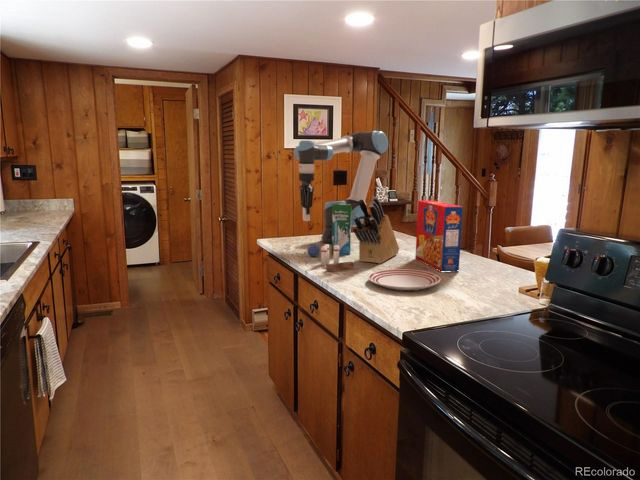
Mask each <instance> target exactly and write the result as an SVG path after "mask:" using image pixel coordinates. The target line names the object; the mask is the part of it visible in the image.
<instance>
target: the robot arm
mask: <svg viewBox="0 0 640 480" xmlns="http://www.w3.org/2000/svg"><path fill="white" fill-rule="evenodd" d="M388 147H389V140H388V138H387V134H385V133H384V132H383V131H381V130H380V131H379V130H372V131H370V130H369V131H368V130H367V131H357V132H355V133H350V134H347V135H343V136H342V137H341V138H336V139H331V140H326V141H325V140H324V141H321V142H320V141H319V142H316V143H315V141H314V140H299V142H298V145H297V146H295V148H294V150H293V155H294V157H295V159H296V160H297V161H298V166H297V168H298V172H299V174H298V181H300V182H301V185H299V187H298V188H299V193H300V194H299V195H300V197H299V198H300V205H301V207H302V221H304V222H310V221H311V208H312V207H313V198H314V191H315V188H314V187H312V186H313V185H312V182H314V181H315V174H314V172H315V161H324V162H325V161H330V160H332V158H333V157H334V155H335V154H341V153H346V154H348V153H359V154H360V160H359V163H358V167H357V170H356V174H355V176H354V177H355V178H354V180H353V185H352V188H351V191H350V196H349V197H348V198H346V200H341V201H339V200H337V201H327V202H325V204H324V229H323V232H322V235H321V237H320V238H321V240H320V241H321V242H322V243H325V244H328V245H330V244H331V245H332V208H333V204H338V205H339V204H340V203H342V204H346V205H351V228H354V227H356V228H357V226H356V223H355V220H354V219H353V217H354V216H357V217H358V218H359V217H360V216H364V213H363V211H362V210H361V208H360V205H359V200H363V201H364V202H365V204H366V207H367V203H366V199H367V195H368V192H369V188H370V185H371V180H372V178H373V173H374V170H375V167H376V163H377V161H378V160H379V159H380V158H381V156H382V154H384V153H385V152H386V151H387V150H388ZM367 210H368V211H369V209H368V208H367ZM360 221H361V223H362V222H363V219H360Z"/></svg>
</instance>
